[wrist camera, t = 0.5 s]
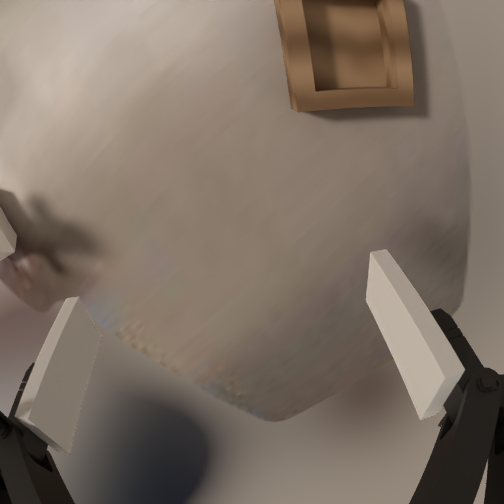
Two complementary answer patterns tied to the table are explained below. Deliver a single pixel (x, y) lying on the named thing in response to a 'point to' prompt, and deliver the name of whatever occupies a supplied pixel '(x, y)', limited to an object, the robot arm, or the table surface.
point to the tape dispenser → (6, 237)
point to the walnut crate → (345, 53)
